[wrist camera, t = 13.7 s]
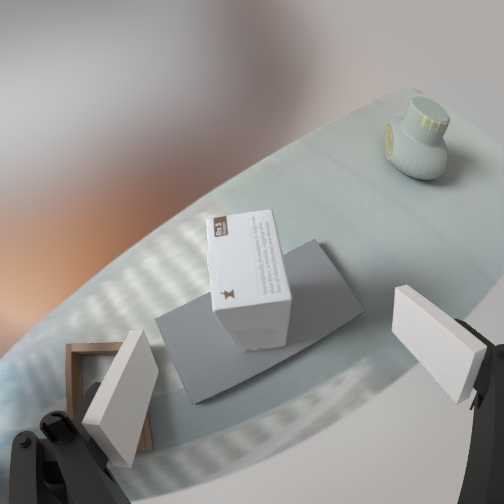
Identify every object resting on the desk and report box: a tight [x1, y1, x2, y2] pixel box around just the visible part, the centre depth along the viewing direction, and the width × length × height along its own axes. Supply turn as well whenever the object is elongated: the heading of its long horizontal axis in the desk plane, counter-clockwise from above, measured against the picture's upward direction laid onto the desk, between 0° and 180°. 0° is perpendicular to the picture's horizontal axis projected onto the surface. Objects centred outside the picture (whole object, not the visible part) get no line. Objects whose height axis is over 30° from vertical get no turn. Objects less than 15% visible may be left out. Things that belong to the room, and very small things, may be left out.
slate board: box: [155, 239, 365, 404], centre depth 27 cm, size 18×9×1 cm, turn 118°
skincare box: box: [207, 209, 292, 352], centre depth 21 cm, size 6×4×12 cm
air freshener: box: [384, 97, 450, 180], centre depth 32 cm, size 11×8×10 cm
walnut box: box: [66, 342, 153, 452], centre depth 23 cm, size 9×11×2 cm
